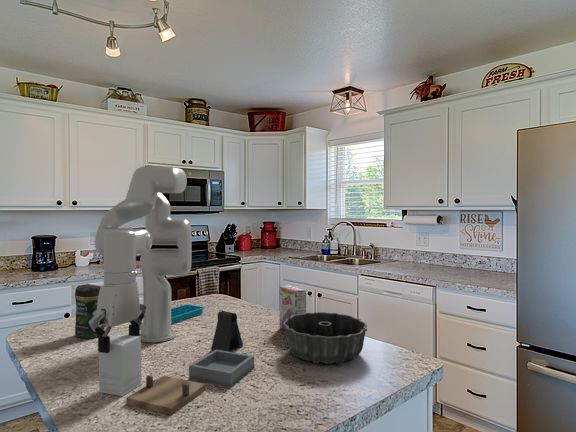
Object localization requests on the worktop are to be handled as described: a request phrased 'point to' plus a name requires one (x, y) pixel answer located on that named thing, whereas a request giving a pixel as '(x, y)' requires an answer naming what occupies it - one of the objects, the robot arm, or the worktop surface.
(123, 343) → the supplement box
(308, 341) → the bundt pan
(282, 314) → the candy bar box
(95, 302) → the coffee jar
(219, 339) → the phone stand
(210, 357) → the tray
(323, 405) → the worktop surface
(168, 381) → the peg stand
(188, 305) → the ice cube tray
